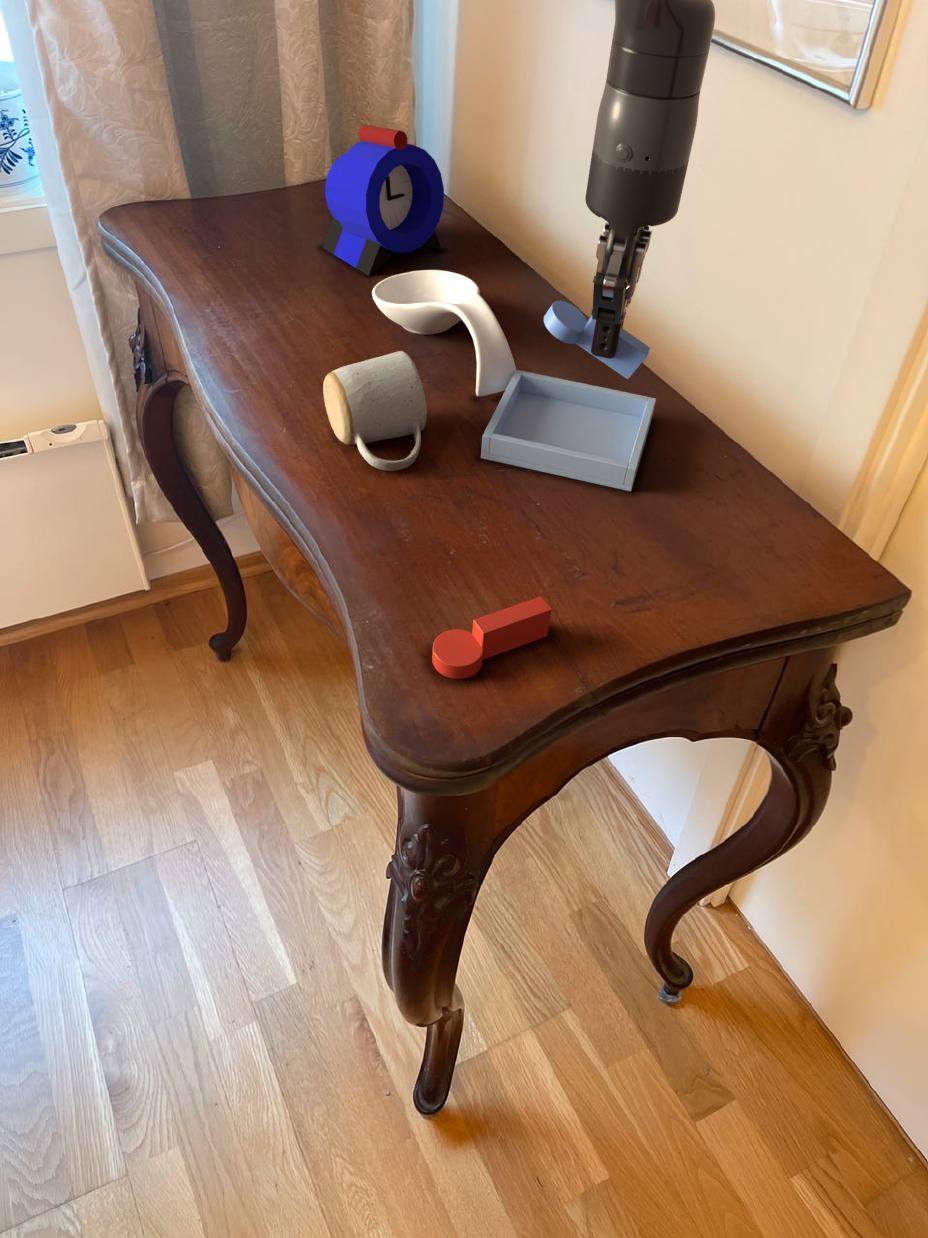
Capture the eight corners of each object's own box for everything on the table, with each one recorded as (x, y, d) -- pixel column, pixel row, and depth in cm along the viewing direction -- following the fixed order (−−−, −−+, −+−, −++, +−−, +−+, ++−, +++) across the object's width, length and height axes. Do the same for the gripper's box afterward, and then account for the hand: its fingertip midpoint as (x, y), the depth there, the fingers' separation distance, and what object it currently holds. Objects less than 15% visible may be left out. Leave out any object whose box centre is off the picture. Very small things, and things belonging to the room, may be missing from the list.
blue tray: (651, 420, 96) (656, 398, 94) (631, 491, 87) (636, 469, 85) (513, 391, 98) (515, 369, 96) (480, 458, 89) (482, 435, 87)
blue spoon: (632, 365, 87) (652, 341, 85) (625, 386, 85) (645, 362, 82) (548, 306, 86) (566, 281, 83) (539, 326, 83) (557, 300, 81)
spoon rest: (357, 309, 109) (353, 248, 104) (447, 289, 113) (447, 230, 108) (450, 409, 95) (450, 344, 90) (549, 382, 99) (555, 319, 94)
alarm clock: (371, 277, 114) (369, 147, 103) (312, 241, 120) (305, 115, 109) (447, 252, 120) (452, 126, 109) (387, 219, 126) (387, 97, 116)
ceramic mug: (320, 421, 92) (316, 351, 86) (397, 404, 95) (398, 335, 89) (360, 484, 86) (359, 413, 80) (441, 464, 88) (445, 394, 83)
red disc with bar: (529, 614, 75) (533, 587, 73) (554, 645, 73) (559, 618, 71) (423, 651, 71) (424, 624, 69) (446, 686, 69) (448, 658, 67)
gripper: (678, 187, 67) (633, 397, 80) (699, 128, 77) (656, 323, 89) (576, 170, 68) (547, 379, 81) (609, 113, 78) (579, 308, 90)
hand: (604, 349), depth 85 cm, fingers closed on blue spoon, 1 cm apart
